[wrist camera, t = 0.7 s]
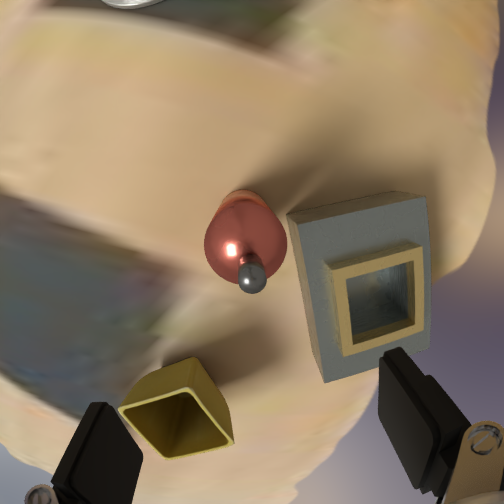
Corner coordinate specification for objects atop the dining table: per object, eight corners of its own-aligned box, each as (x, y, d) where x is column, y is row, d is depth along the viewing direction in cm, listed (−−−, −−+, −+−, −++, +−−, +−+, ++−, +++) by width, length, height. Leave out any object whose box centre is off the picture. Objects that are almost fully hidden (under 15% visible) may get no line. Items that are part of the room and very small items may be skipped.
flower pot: (137, 360, 34) (114, 409, 25) (200, 335, 33) (189, 387, 24) (176, 410, 36) (165, 461, 27) (236, 390, 35) (236, 445, 27)
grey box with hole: (285, 214, 30) (300, 228, 23) (395, 190, 30) (434, 198, 23) (312, 351, 34) (327, 392, 27) (405, 323, 34) (435, 355, 27)
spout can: (214, 196, 29) (187, 222, 14) (261, 184, 29) (283, 199, 14) (225, 242, 31) (212, 310, 16) (271, 231, 30) (302, 289, 16)
